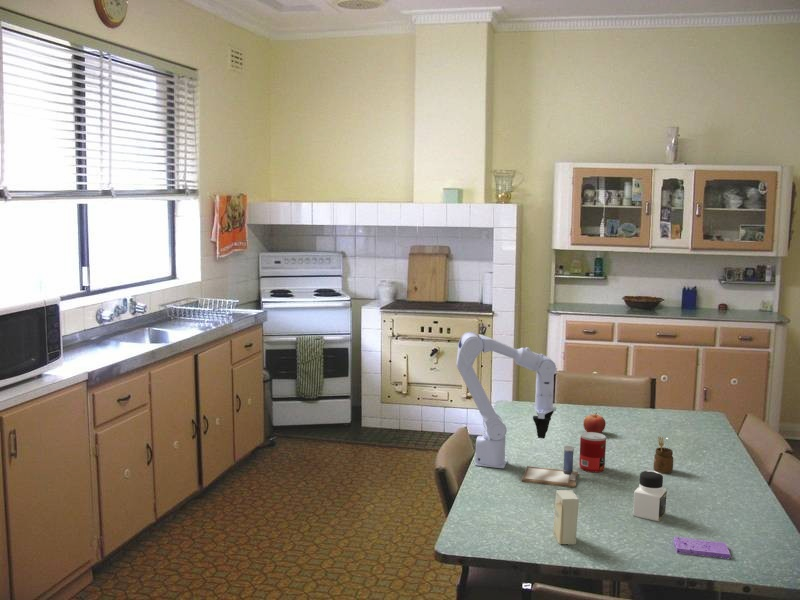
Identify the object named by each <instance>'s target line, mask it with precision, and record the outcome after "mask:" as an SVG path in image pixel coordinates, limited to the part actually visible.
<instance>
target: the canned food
mask: <svg viewBox="0 0 800 600" xmlns="http://www.w3.org/2000/svg"><path fill="white" fill-rule="evenodd" d="M579 441H580V442H579V463H578V464H579V465H578V466H579V467H580V469H581V470H582V469H583V471H585V472H588V471H589V473H600V472H604V469H605V467H606V466H605V465H606V449H607V448H606V446H607V436H606V435H605V434H603V433H595V432H586V431H585V432H582V433H580V439H579Z"/></svg>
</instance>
